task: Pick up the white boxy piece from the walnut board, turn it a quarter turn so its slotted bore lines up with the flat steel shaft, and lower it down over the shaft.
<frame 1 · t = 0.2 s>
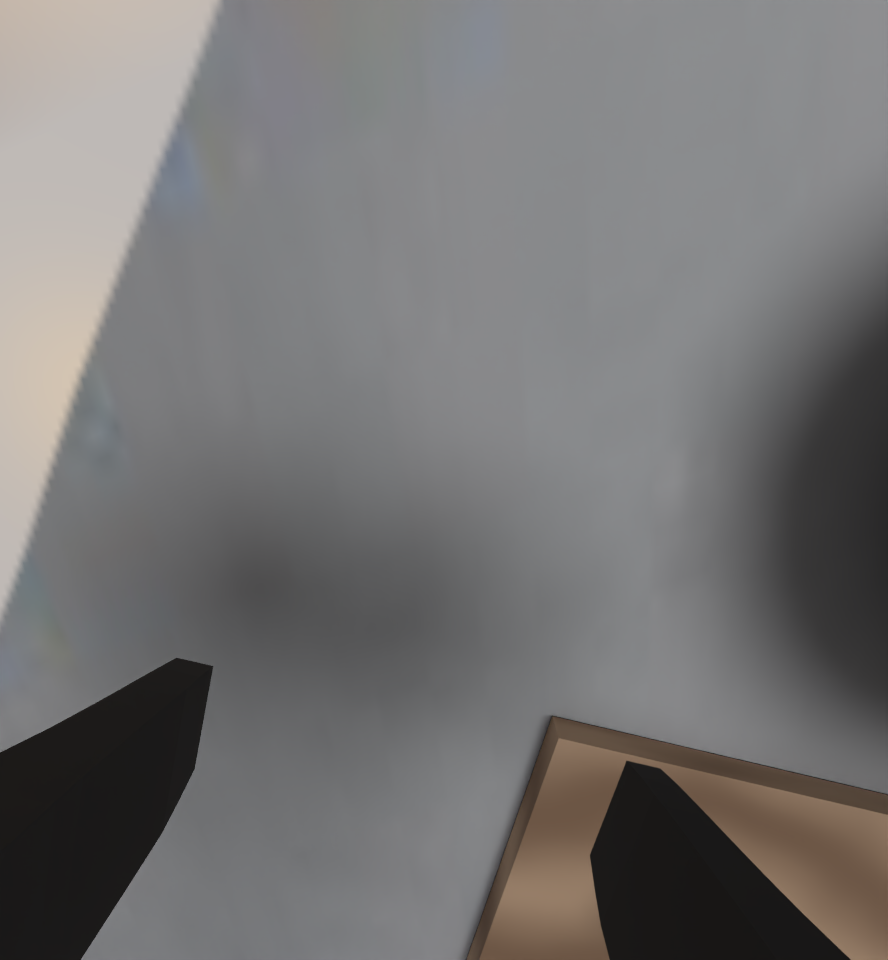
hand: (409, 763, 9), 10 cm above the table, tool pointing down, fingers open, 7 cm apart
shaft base: (649, 874, 22), on the table
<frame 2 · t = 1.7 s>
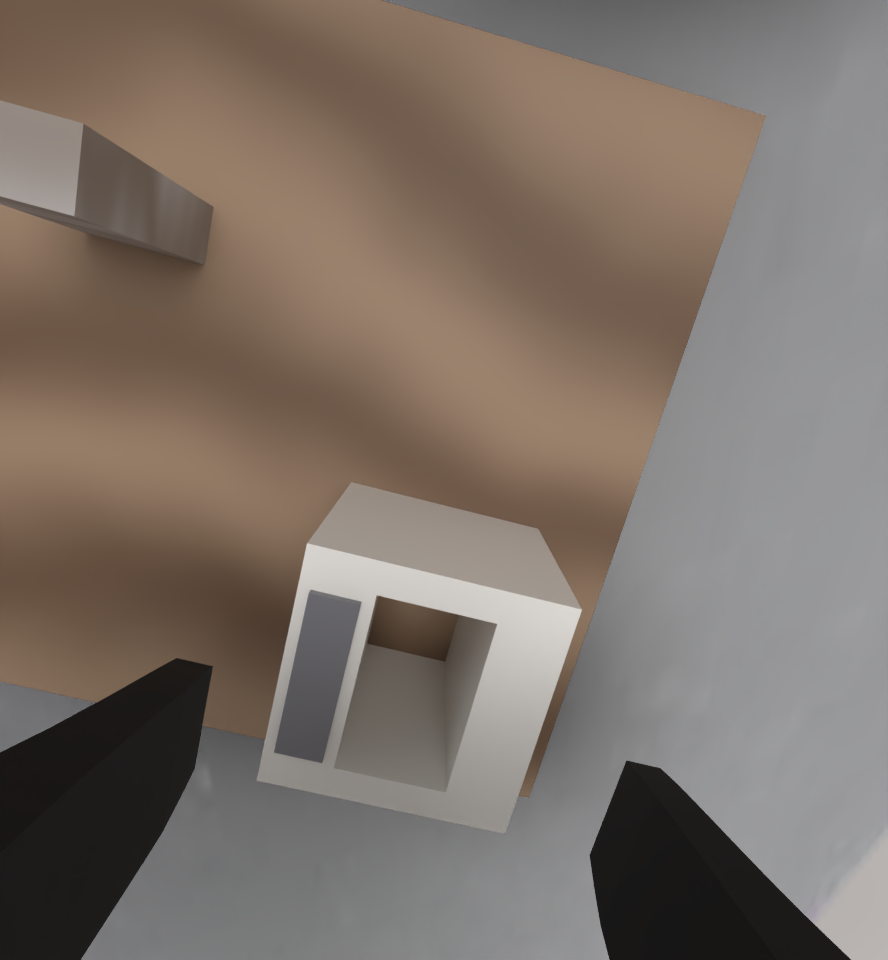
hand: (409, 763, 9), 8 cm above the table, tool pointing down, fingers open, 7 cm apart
white boxy piece: (422, 592, 16), point 1 cm above the table, touching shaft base
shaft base: (172, 230, 15), on the table
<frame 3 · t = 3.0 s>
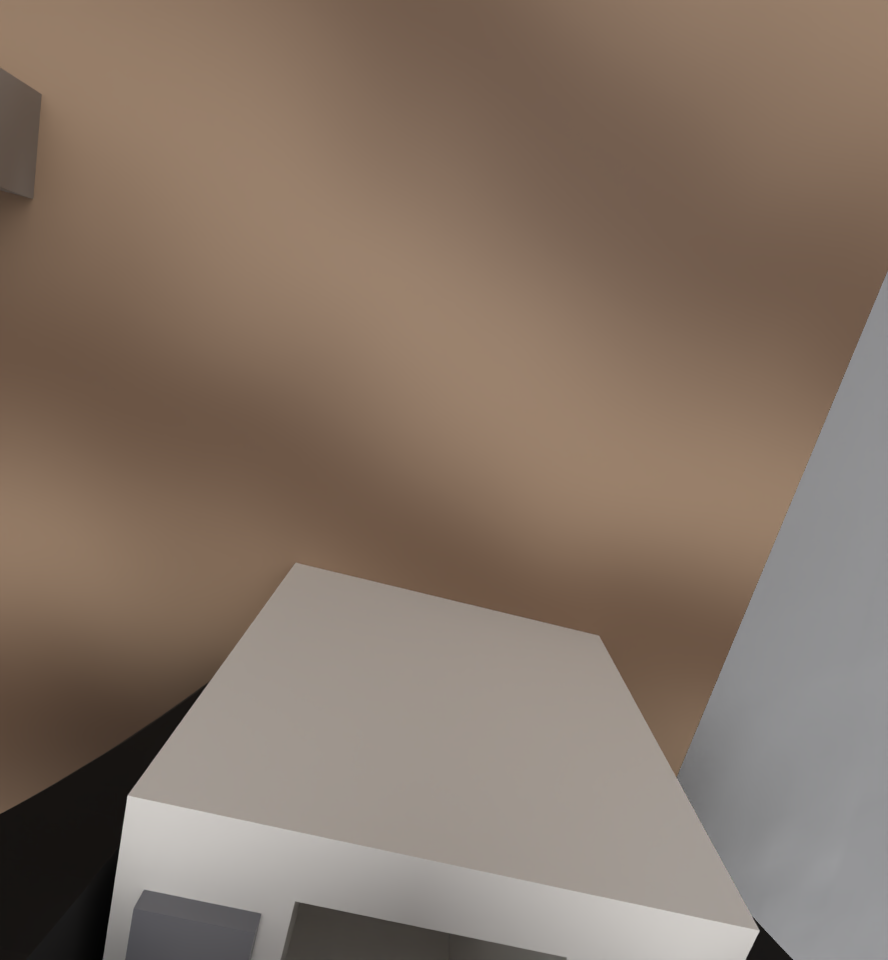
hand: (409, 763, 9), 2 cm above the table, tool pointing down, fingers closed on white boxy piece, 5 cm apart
white boxy piece: (412, 731, 10), point 1 cm above the table, touching gripper, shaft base
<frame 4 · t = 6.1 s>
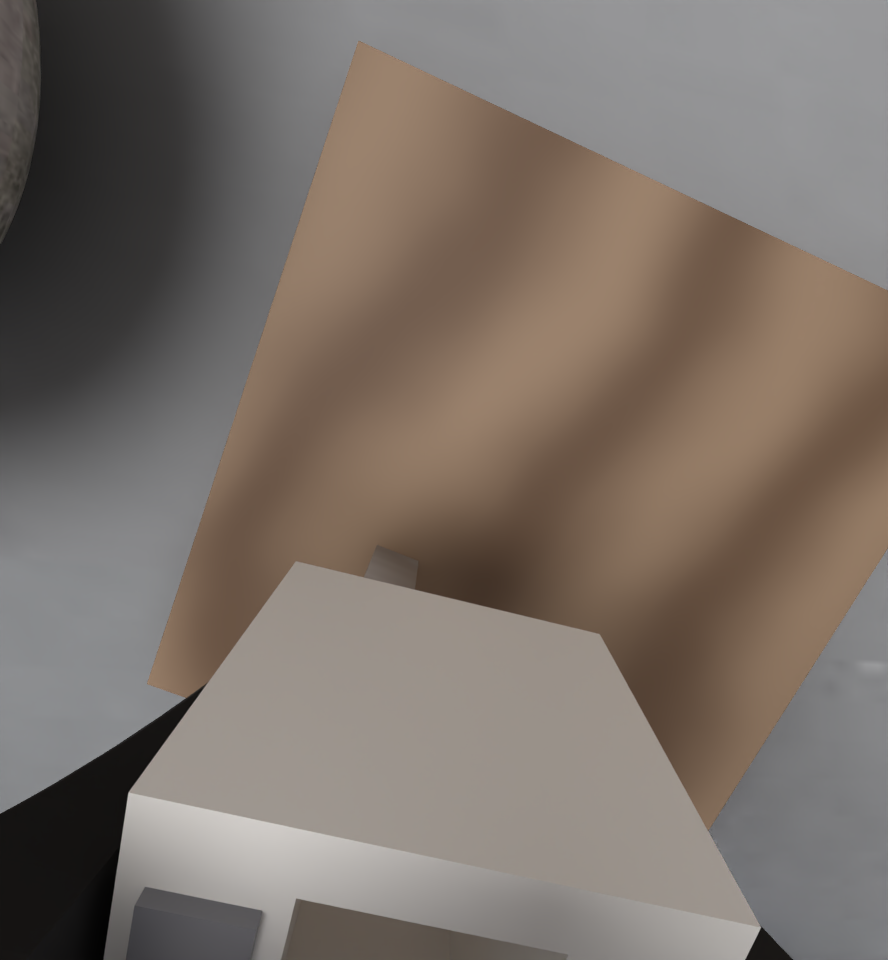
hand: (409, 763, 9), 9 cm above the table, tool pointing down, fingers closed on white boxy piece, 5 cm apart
white boxy piece: (413, 730, 10), point 9 cm above the table, touching gripper
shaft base: (384, 578, 18), on the table
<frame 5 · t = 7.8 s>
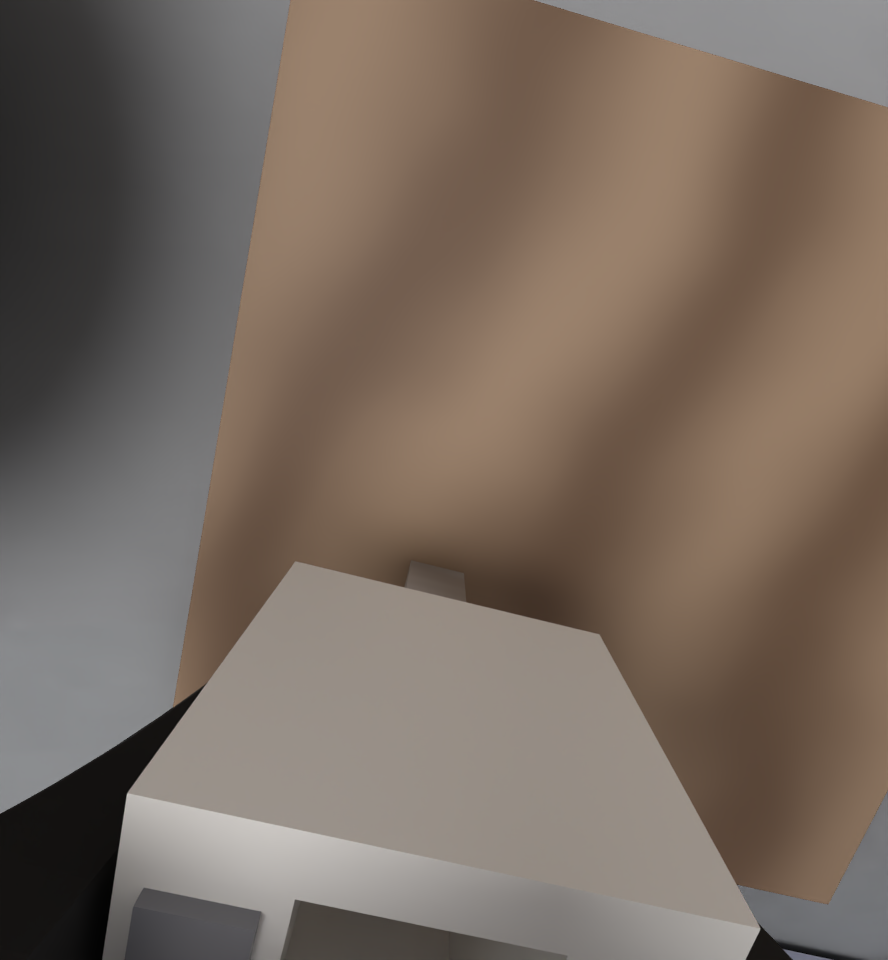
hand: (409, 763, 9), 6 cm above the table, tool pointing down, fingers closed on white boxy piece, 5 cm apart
white boxy piece: (412, 730, 10), point 6 cm above the table, touching gripper
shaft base: (425, 598, 15), on the table
when the fingers open (3 cm above the table, at t = 9.0 s): white boxy piece drops 1 cm, resting on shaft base.
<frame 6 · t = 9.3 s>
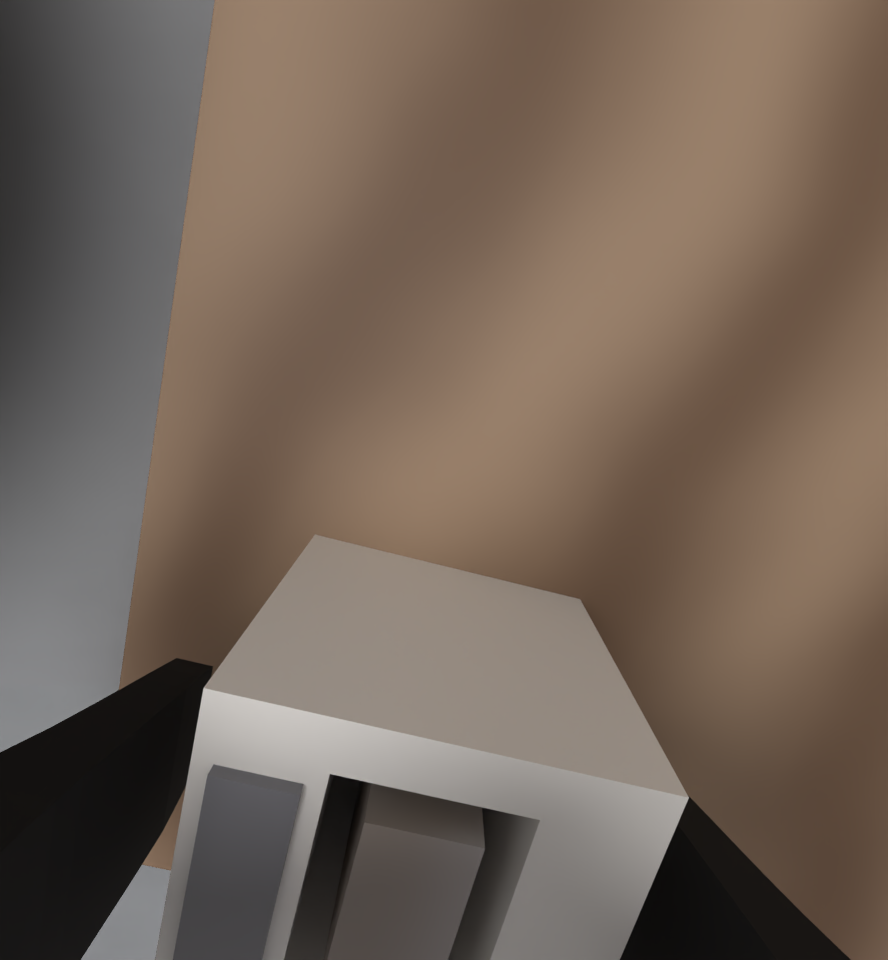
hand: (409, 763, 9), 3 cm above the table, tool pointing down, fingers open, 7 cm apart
white boxy piece: (416, 685, 11), point 1 cm above the table, touching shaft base
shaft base: (419, 655, 13), on the table
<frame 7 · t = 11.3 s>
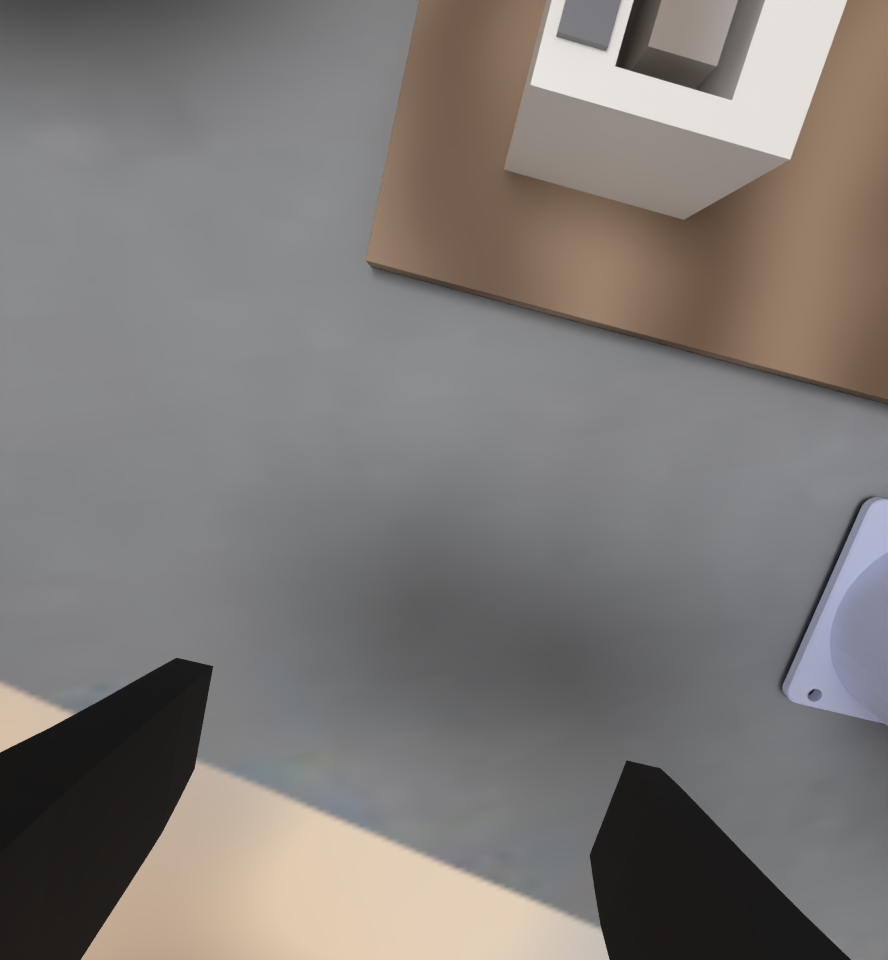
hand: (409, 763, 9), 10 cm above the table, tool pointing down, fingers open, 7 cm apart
white boxy piece: (624, 91, 15), point 1 cm above the table, touching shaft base
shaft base: (611, 111, 16), on the table
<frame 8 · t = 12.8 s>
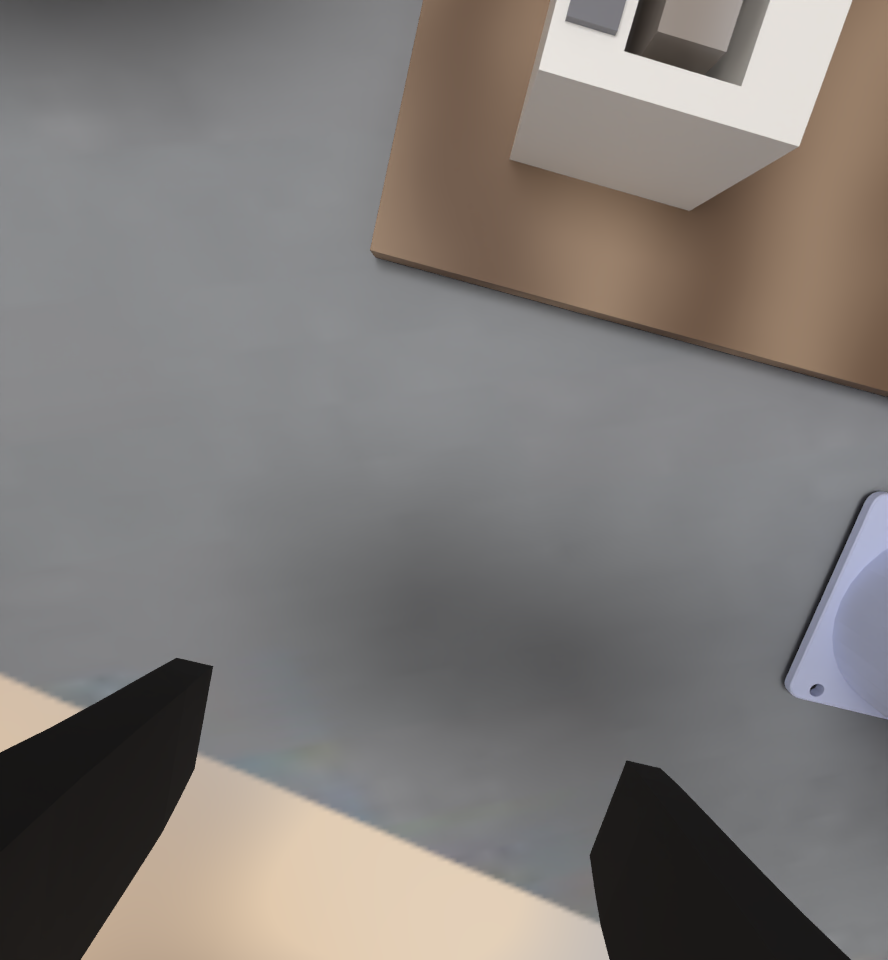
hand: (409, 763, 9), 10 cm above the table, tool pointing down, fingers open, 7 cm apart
white boxy piece: (630, 81, 15), point 1 cm above the table, touching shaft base
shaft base: (617, 101, 16), on the table
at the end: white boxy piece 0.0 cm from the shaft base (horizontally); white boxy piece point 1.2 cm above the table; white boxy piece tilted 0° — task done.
